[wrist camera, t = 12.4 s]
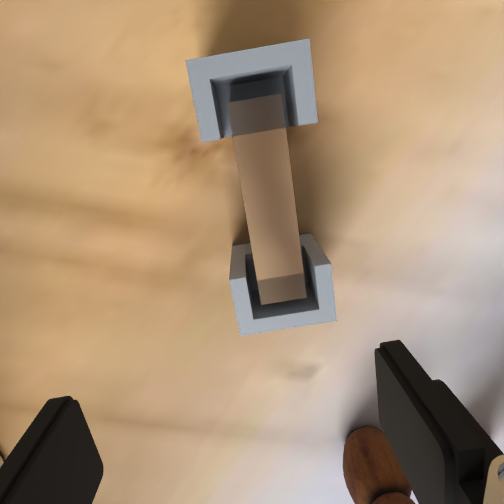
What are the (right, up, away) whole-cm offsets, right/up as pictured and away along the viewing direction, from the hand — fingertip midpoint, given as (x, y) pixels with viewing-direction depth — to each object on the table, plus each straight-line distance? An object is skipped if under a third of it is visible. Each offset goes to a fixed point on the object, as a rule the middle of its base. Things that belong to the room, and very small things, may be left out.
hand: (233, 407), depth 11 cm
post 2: (+3, +4, +23) cm, 23 cm away
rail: (+2, +9, +18) cm, 20 cm away
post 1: (0, +17, +18) cm, 25 cm away
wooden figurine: (+13, -17, +31) cm, 37 cm away
